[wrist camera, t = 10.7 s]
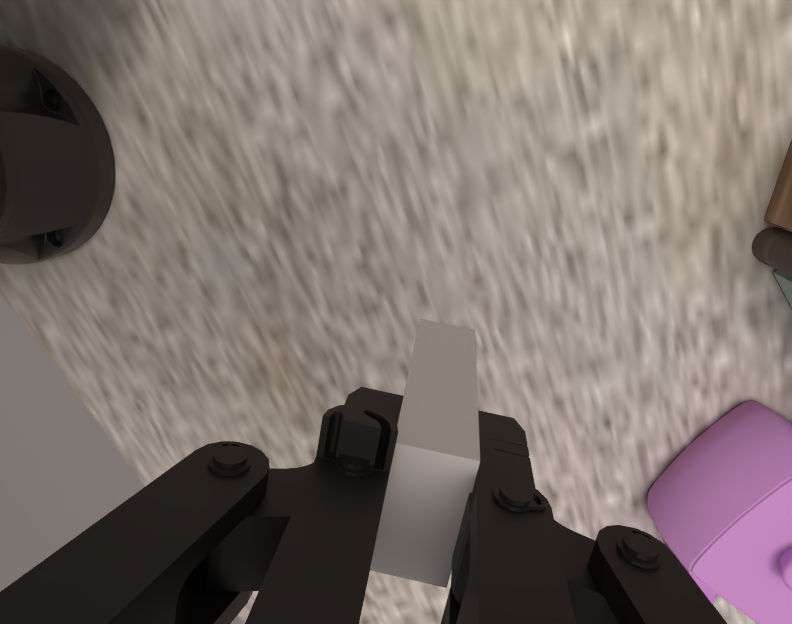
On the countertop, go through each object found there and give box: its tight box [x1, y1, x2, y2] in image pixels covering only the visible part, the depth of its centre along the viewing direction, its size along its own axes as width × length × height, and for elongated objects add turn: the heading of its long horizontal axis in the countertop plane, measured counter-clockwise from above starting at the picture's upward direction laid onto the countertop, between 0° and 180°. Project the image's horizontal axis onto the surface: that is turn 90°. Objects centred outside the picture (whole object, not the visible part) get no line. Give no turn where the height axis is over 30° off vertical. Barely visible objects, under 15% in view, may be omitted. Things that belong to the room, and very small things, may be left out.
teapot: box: [647, 401, 792, 624], centre depth 41 cm, size 18×10×10 cm, turn 144°
